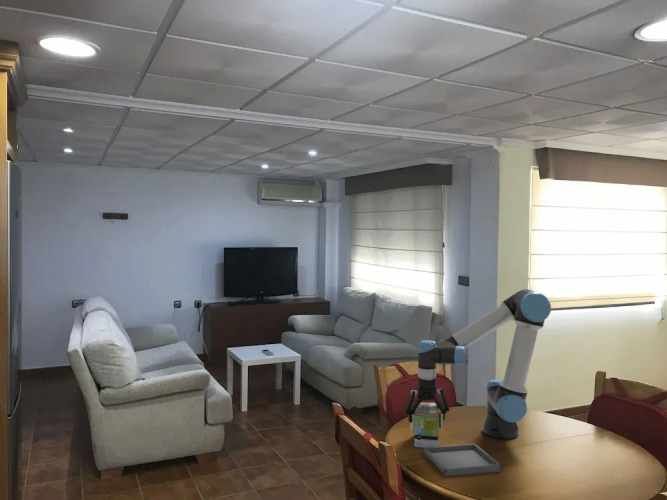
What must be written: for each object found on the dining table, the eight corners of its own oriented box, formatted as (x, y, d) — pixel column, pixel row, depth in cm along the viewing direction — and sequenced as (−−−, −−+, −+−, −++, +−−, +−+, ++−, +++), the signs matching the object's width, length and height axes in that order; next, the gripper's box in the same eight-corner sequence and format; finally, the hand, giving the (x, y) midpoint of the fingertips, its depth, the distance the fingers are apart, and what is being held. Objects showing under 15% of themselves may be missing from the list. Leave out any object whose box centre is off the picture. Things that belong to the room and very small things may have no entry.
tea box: (439, 449, 218) (439, 412, 218) (413, 447, 220) (413, 411, 220) (438, 436, 233) (438, 402, 233) (415, 434, 235) (415, 400, 234)
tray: (474, 449, 218) (474, 443, 218) (501, 471, 197) (501, 464, 197) (423, 453, 213) (423, 447, 213) (444, 476, 193) (444, 469, 193)
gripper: (450, 374, 232) (449, 424, 232) (396, 376, 227) (396, 427, 227) (457, 378, 225) (457, 430, 225) (402, 381, 220) (402, 434, 220)
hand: (426, 429), depth 226 cm, fingers closed on tea box, 12 cm apart
